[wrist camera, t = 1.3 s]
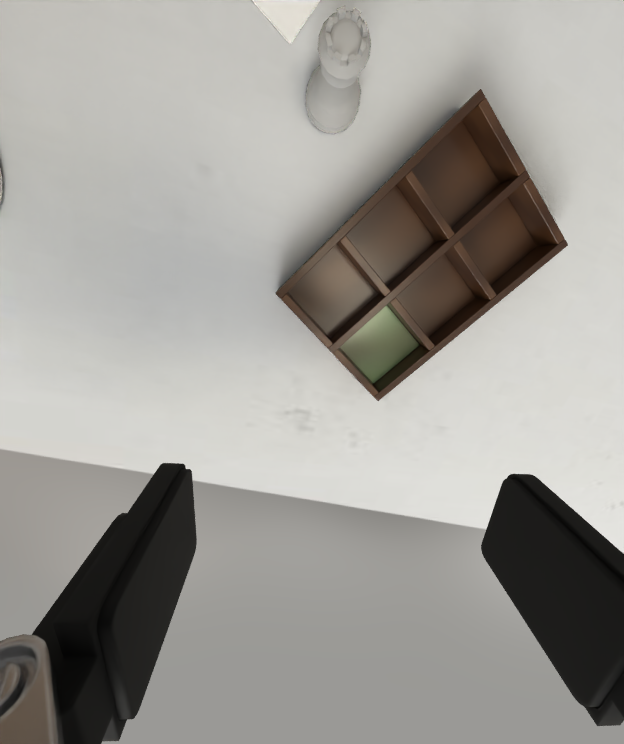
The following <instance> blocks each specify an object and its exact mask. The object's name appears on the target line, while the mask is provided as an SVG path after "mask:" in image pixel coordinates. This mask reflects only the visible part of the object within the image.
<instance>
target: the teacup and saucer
mask: <svg viewBox="0 0 624 744" xmlns="http://www.w3.org/2000/svg"><path fill="white" fill-rule="evenodd" d="M252 1H253V2H254V3H255V5H256V6H257V7H258V8H259V9H260V10H261V11H262V13H263V14H264V15H265V16H266V17H267V18H268V20H269V21H270V22H271V23H272V24H273V25H274V27H275V28H276V29H277V30H278V31H279V32H280V33H281V35H282V36H283V37H284V38H285V39H286V40H287V42H288V43H289V44H291V43H292V42H293V40H294V39H295V37H296V36H297V34H298V33H299V31H300V30H301V28H302V27H303V25H304V24H305V22H306V21H307V19H308V18H309V16H310V15H311V13H312V12H313V10H314V9H315V7H316V6H317V4H318V3H319V1H320V0H252Z"/></svg>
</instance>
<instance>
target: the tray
mask: <svg viewBox="0 0 624 744" xmlns="http://www.w3.org/2000/svg"><path fill="white" fill-rule="evenodd" d="M529 177H530V176H529V174H528V172H527V170H526V169H525V167H524V165H523V163H522V161H521V160H520V158H519V156H518V154H517V153H516V151H515V149H514V147H513V145H512V144H511V142H510V140H509V138H508V136H507V135H506V133H505V131H504V129H503V128H502V126H501V124H500V122H499V120H498V119H497V117H496V115H495V113H494V111H493V110H492V108H491V106H490V104H489V103H488V101H487V99H486V98H485V95H484V94H483V92H482V90H481V89H480V90H479V91H478V92H477V93H476V94H475V95H474V96H473V97H472V98H470V99H469V100H468V101H467V102H466V103H465V104H464V105H463V106H462V107H461V108H460V109H459V110H458V111H457V112H456V113H455V114H454V115H453V116H452V117H451V118H450V119H449V120H448V121H447V122H446V123H445V124H444V125H443V126H442V127H441V128H440V129H439V130H438V131H437V132H436V133H435V134H434V135H433V136H432V137H431V138H430V139H429V140H428V141H427V142H426V143H425V144H424V145H423V146H422V147H421V148H420V149H419V150H418V151H417V152H416V153H415V154H414V155H413V156H412V157H411V158H410V159H409V160H408V161H407V162H406V163H405V164H404V165H403V166H402V167H401V168H400V169H399V170H398V171H397V172H396V173H395V174H394V175H393V176H392V177H391V178H390V179H389V180H388V181H387V182H386V183H385V184H384V185H383V186H382V187H381V188H380V189H379V190H378V191H377V192H376V193H375V194H374V195H373V196H372V197H371V198H370V199H369V200H368V201H367V202H366V203H365V204H364V205H363V206H362V207H361V208H360V209H359V210H358V211H357V212H356V213H355V214H354V215H353V216H352V217H351V218H350V219H349V220H348V221H347V222H346V223H345V224H344V225H343V226H342V227H341V228H340V229H339V230H338V231H337V232H336V233H335V234H334V235H333V236H332V237H331V238H330V239H329V240H328V241H327V242H326V243H325V244H324V245H323V246H322V247H321V248H320V249H319V250H318V251H317V252H316V253H315V254H314V255H313V256H312V257H311V258H310V259H309V260H308V261H307V262H306V263H305V264H304V265H303V266H302V267H301V268H300V269H299V270H298V271H297V272H295V273H294V274H293V275H292V276H291V277H290V278H289V279H288V280H287V281H286V282H285V283H284V284H283V285H282V286H281V287H280V288H279V289H278V291H277V292H276V294H277V295H278V297H279V298H280V299H281V300H282V301H283V302H284V303H285V304H286V305H287V306H288V307H289V308H290V309H291V310H292V311H293V312H294V313H295V314H296V315H297V316H298V318H299V319H300V320H301V321H302V322H303V323H304V324H305V325H306V326H307V327H308V328H309V329H310V330H311V331H312V332H313V333H314V334H315V335H316V337H317V338H318V339H319V340H320V341H321V342H322V343H323V344H324V345H325V346H326V347H327V348H328V349H329V350H330V351H331V352H332V353H333V354H334V355H335V357H336V358H337V359H338V360H339V361H340V362H341V363H342V364H343V365H344V366H345V367H346V368H347V369H348V370H349V371H350V372H351V373H352V374H353V375H354V377H355V378H356V379H357V380H358V381H359V382H360V383H361V384H362V385H363V386H364V387H365V388H366V389H367V390H368V391H369V392H370V393H371V394H372V396H374V398H375V399H376V400H377V401H379V400H380V399H381V398H382V397H384V396H385V395H386V394H387V393H389V392H390V391H391V390H392V389H393V388H395V387H396V386H397V385H398V384H399V383H401V382H402V381H403V380H404V379H406V378H407V377H408V376H409V375H410V374H412V373H413V372H414V371H415V370H417V369H418V368H419V367H420V366H421V365H423V364H424V363H425V362H426V361H427V360H429V359H430V358H431V357H432V356H434V355H435V354H436V353H437V352H438V351H440V350H441V349H442V348H443V347H445V346H446V345H447V344H448V343H449V342H451V341H452V340H453V339H454V338H455V337H457V336H458V335H459V334H460V333H462V332H463V331H464V330H465V329H466V328H468V327H469V326H470V325H471V324H473V323H474V322H475V321H476V320H477V319H479V318H480V317H481V316H482V315H484V314H485V313H486V312H487V311H488V310H490V309H491V308H492V307H493V306H494V305H496V304H497V303H498V302H499V301H501V300H502V299H503V298H504V297H505V296H507V295H508V294H509V293H510V292H512V291H513V290H514V289H515V288H516V287H518V286H519V285H520V284H521V283H522V282H524V281H525V280H526V279H527V278H529V277H530V276H531V275H532V274H533V273H535V272H536V271H537V270H538V269H540V268H541V267H542V266H543V265H544V264H546V263H547V262H548V261H549V260H550V259H552V258H553V257H554V256H555V255H557V254H558V253H559V252H560V251H561V250H563V249H564V248H565V247H566V246H568V244H567V242H566V240H565V239H564V237H563V235H562V233H561V231H560V230H559V228H558V226H557V224H556V222H555V221H554V219H553V217H552V215H551V214H550V212H549V210H548V208H547V206H546V205H545V203H544V201H543V199H542V197H541V196H540V194H539V192H538V190H537V189H536V187H535V185H534V183H533V181H532V180H531V178H529Z"/></svg>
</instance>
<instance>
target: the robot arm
mask: <svg viewBox="0 0 624 744" xmlns="http://www.w3.org/2000/svg"><path fill="white" fill-rule="evenodd" d="M1 198H2V174H1V169H0V203H1ZM195 549H196V525H195V511H194V497H193V483H192V471H191V470H190V469H186V468H185V465H184V464H175V463H163V464H161V465H160V466H159V468H158V469H157V471H156V472H155V474H154V475H153V477H152V478H151V480H150V481H149V483H148V484H147V485H146V487H145V488H144V490H143V491H142V493H141V494H140V496H139V497H138V498H137V500H136V502H135V503H134V504H133V506H132V507H131V509H130V510H129V512H128V513H122V514H120V515H119V516H117V518H116V519H115V520H114V521H113V522H112V524H111V525H110V527H109V528H108V529H107V531H106V532H105V533H104V535H103V536H102V538H101V539H100V540H99V542H98V543H97V545H96V546H95V547H94V549H93V550H92V552H91V553H90V554H89V556H88V557H87V558H86V560H85V561H84V563H83V564H82V565H81V567H80V568H79V570H78V571H77V572H76V574H75V575H74V577H73V578H72V579H71V581H70V582H69V584H68V585H67V586H66V588H65V589H64V590H63V592H62V593H61V595H60V596H59V597H58V599H57V600H56V601H55V603H54V604H53V606H52V607H51V608H50V610H49V611H48V613H47V614H46V616H45V617H44V618H43V620H42V621H41V622H40V624H39V625H38V626H37V628H36V629H35V631H34V632H33V634H32V635H24V634H23V635H19V636H14V637H10V638H6V639H5V640H2V641H0V744H101V743H102V741H119V739H120V737H121V734H122V731H123V729H124V726H125V723H126V721H127V719H134V718H135V716H136V715H137V713H138V711H139V708H140V706H141V703H142V700H143V697H144V695H145V691H146V689H147V686H148V683H149V680H150V677H151V675H152V672H153V669H154V666H155V663H156V661H157V658H158V655H159V652H160V650H161V646H162V644H163V641H164V638H165V635H166V633H167V630H168V627H169V624H170V621H171V618H172V616H173V613H174V610H175V607H176V605H177V602H178V599H179V596H180V593H181V590H182V588H183V585H184V582H185V579H186V576H187V573H188V570H189V568H190V565H191V562H192V559H193V556H194V553H195ZM481 549H482V554H483V556H484V558H485V560H486V561H487V563H488V564H489V566H490V568H491V569H492V571H493V572H494V574H495V575H496V577H497V578H498V580H499V582H500V583H501V585H502V586H503V588H504V589H505V591H506V592H507V594H508V595H509V597H510V598H511V600H512V602H513V603H514V605H515V606H516V608H517V609H518V611H519V613H520V614H521V616H522V617H523V619H524V620H525V622H526V623H527V625H528V627H529V628H530V629H531V631H532V633H533V634H534V636H535V637H536V639H537V641H538V642H539V644H540V645H541V647H542V648H543V650H544V651H545V653H546V655H547V656H548V658H549V659H550V661H551V662H552V664H553V665H554V667H555V669H556V670H557V672H558V673H559V675H560V676H561V678H562V679H563V681H564V683H565V684H566V686H567V687H568V689H569V690H570V692H571V693H572V695H573V696H574V698H575V699H576V700H577V701H578V702H579V703H580V704H581V705H583V706H584V707H585V708H586V710H587V711H588V713H589V714H590V716H591V717H592V719H593V720H594V722H595V723H596V725H597V726H606V725H607V726H611V725H621V723H622V722H623V721H624V554H623V553H622V552H621V551H619V550H618V549H617V548H616V547H615V546H614V545H613V544H612V543H610V542H609V541H608V540H607V539H606V538H605V537H604V536H602V535H601V534H600V533H599V532H598V531H597V530H596V529H594V528H593V527H592V526H591V525H590V524H589V523H588V522H587V521H585V520H584V519H583V518H582V517H581V516H580V515H579V514H577V513H576V512H575V511H574V510H573V509H572V508H571V507H570V506H568V505H567V504H566V503H565V502H564V501H563V500H562V499H560V498H559V497H558V496H557V495H556V494H555V493H554V492H552V491H551V490H550V489H549V488H548V487H547V486H546V485H545V484H543V483H542V482H541V481H540V480H539V479H538V478H536V477H535V476H533V475H530V474H511V475H509V476H508V478H507V479H505V480H504V481H503V483H502V486H501V489H500V492H499V495H498V498H497V500H496V503H495V506H494V509H493V512H492V515H491V518H490V521H489V524H488V527H487V530H486V533H485V536H484V538H483V542H482V545H481Z"/></svg>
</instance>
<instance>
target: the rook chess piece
mask: <svg viewBox="0 0 624 744" xmlns="http://www.w3.org/2000/svg"><path fill="white" fill-rule="evenodd" d="M360 15H361V12H360V11H359V10H358V9H356V8H355V7H354V8H353V12H351V11H346V9H345V6H342V7H340V8H337V12H336V13H334V14H332V15H331V16H330V17H329V18H328V19H327V20H326V21H325V22H324V24H323V26H322V29H321V31H320V34H319V41H318V51H319V55H320V65H319V66H318V67H317V68H316V69H315V70H314V72H313V73H312V75H311V78H310V80H309V83H308V85H307V90H306V103H305V105H306V108H307V112H308V116H309V118H310V119H311V121H312V122H313V124H314V125H315V127H317V128H318V129H320V130H321V131H323V132H324V133H332V134H336V133H338V132H341V131H344V130H345V129H346V128H348V127H349V126H350V125H351V124H352V123H353V121H354V119H355V116H356V114H357V112H358V107H359V104H360V94H361V90H360V85H359V81H358V76H359V73H360V72H361V71H362V70H363V69H364V67H365V65H366V63H367V61H368V58H369V56H370V47H371V41H370V35H369V30H368V27H367V22H364V21H363V19H362V18H361V17H360Z"/></svg>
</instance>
